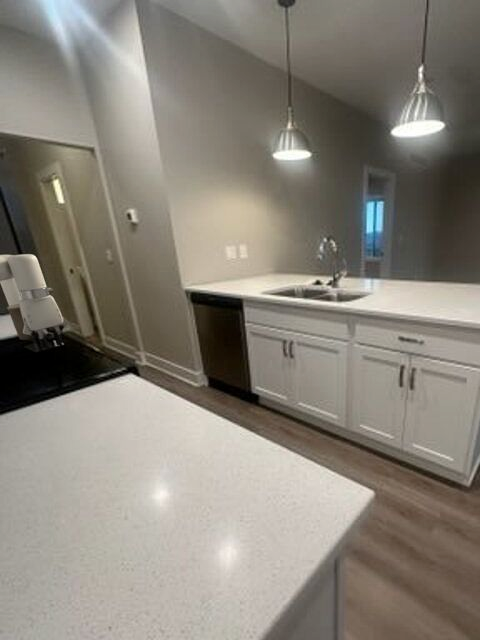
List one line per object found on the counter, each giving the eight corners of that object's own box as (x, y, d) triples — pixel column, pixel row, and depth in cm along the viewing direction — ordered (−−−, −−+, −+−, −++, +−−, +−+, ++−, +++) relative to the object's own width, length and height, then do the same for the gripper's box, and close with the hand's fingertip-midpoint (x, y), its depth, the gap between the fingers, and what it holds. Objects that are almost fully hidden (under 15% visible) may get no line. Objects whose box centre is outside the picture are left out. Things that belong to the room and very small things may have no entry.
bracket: (65, 347, 125) (55, 315, 120) (37, 355, 118) (24, 322, 113) (52, 341, 131) (42, 311, 127) (25, 349, 125) (13, 317, 120)
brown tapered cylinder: (52, 337, 137) (39, 300, 131) (22, 344, 130) (7, 305, 125) (47, 333, 143) (34, 297, 137) (18, 339, 137) (3, 302, 131)
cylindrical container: (41, 329, 149) (20, 270, 140) (40, 333, 144) (18, 272, 134) (21, 332, 146) (-2, 272, 136) (19, 336, 140) (-5, 274, 131)
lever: (58, 342, 119) (57, 335, 117) (47, 345, 117) (46, 338, 115) (39, 322, 123) (38, 314, 122) (29, 324, 121) (28, 317, 119)
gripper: (58, 288, 120) (74, 338, 127) (0, 298, 108) (21, 352, 115) (67, 290, 116) (83, 341, 123) (7, 300, 104) (29, 356, 111)
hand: (53, 346), depth 119 cm, fingers closed on lever, 3 cm apart
